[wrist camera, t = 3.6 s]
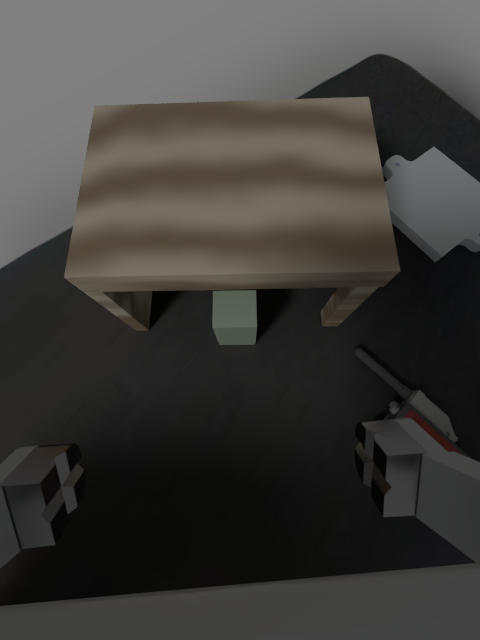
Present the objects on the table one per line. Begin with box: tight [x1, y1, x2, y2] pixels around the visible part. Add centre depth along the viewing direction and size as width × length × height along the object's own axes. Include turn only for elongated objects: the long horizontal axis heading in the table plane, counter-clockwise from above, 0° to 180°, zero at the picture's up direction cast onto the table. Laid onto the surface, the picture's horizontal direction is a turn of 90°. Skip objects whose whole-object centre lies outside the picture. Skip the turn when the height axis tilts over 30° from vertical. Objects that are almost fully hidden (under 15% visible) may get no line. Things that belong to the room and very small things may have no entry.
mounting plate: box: [382, 147, 480, 262], centre depth 43 cm, size 18×13×2 cm
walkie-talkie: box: [354, 348, 474, 460], centre depth 33 cm, size 9×4×20 cm
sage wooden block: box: [212, 290, 257, 345], centre depth 35 cm, size 4×4×8 cm
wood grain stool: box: [64, 97, 400, 331], centre depth 34 cm, size 18×26×16 cm
